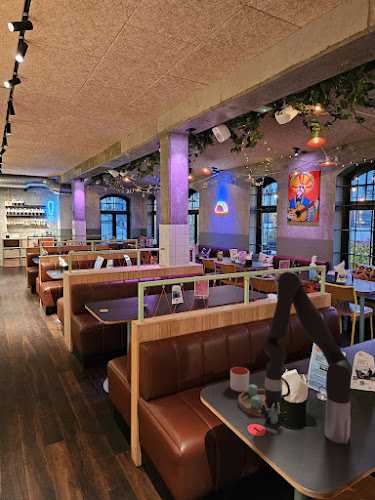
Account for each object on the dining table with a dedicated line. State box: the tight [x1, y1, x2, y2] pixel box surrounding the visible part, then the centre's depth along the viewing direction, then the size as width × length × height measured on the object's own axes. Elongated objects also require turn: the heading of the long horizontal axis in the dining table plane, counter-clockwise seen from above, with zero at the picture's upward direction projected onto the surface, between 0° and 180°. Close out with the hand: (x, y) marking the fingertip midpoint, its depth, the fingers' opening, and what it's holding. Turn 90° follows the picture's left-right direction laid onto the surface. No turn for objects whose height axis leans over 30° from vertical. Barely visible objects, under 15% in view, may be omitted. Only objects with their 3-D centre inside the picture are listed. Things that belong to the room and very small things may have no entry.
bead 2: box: [251, 396, 260, 411], centre depth 165 cm, size 4×4×6 cm
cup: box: [229, 366, 250, 393], centre depth 187 cm, size 10×10×10 cm
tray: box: [237, 388, 265, 418], centre depth 171 cm, size 23×23×3 cm
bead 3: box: [270, 409, 279, 425], centre depth 156 cm, size 4×4×6 cm
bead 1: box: [248, 384, 258, 398], centre depth 177 cm, size 4×4×6 cm
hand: (272, 422), depth 156 cm, fingers closed on bead 3, 4 cm apart
